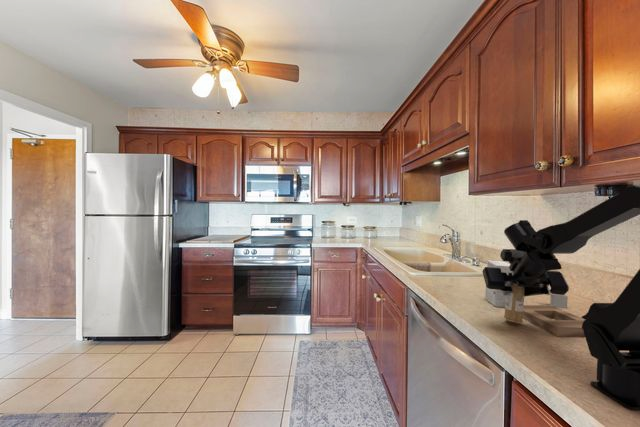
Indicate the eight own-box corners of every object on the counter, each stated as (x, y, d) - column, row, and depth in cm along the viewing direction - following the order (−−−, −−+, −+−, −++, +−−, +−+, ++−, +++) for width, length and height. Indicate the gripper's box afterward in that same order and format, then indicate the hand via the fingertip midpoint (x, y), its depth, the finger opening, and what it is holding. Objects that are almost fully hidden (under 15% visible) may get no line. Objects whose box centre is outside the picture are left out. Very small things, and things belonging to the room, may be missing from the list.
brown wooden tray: (605, 336, 69) (605, 327, 69) (557, 336, 69) (557, 327, 69) (550, 312, 85) (550, 305, 85) (511, 312, 85) (511, 305, 85)
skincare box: (484, 299, 97) (485, 259, 97) (502, 300, 96) (503, 260, 96) (494, 307, 89) (496, 264, 89) (514, 308, 88) (515, 265, 88)
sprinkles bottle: (523, 325, 73) (528, 278, 73) (504, 320, 76) (508, 275, 75) (521, 319, 77) (524, 275, 77) (502, 315, 80) (506, 272, 79)
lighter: (565, 307, 90) (565, 284, 90) (567, 308, 89) (568, 285, 89) (539, 303, 93) (540, 281, 93) (541, 305, 92) (541, 282, 92)
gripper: (562, 242, 70) (539, 273, 81) (485, 239, 75) (472, 269, 86) (583, 278, 62) (554, 307, 73) (495, 272, 67) (480, 300, 78)
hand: (512, 294), depth 78 cm, fingers closed on sprinkles bottle, 4 cm apart
